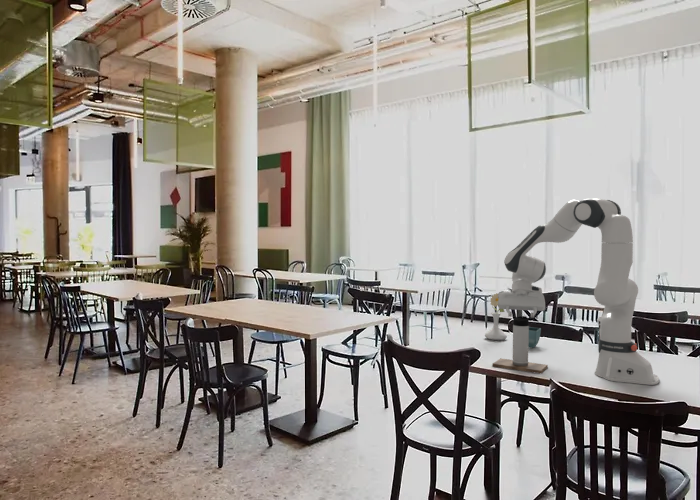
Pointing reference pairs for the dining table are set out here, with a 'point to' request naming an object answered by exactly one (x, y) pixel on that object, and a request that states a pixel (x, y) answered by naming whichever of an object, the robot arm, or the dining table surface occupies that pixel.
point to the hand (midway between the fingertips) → (521, 316)
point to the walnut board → (529, 368)
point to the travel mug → (520, 340)
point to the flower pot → (533, 336)
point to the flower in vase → (495, 322)
